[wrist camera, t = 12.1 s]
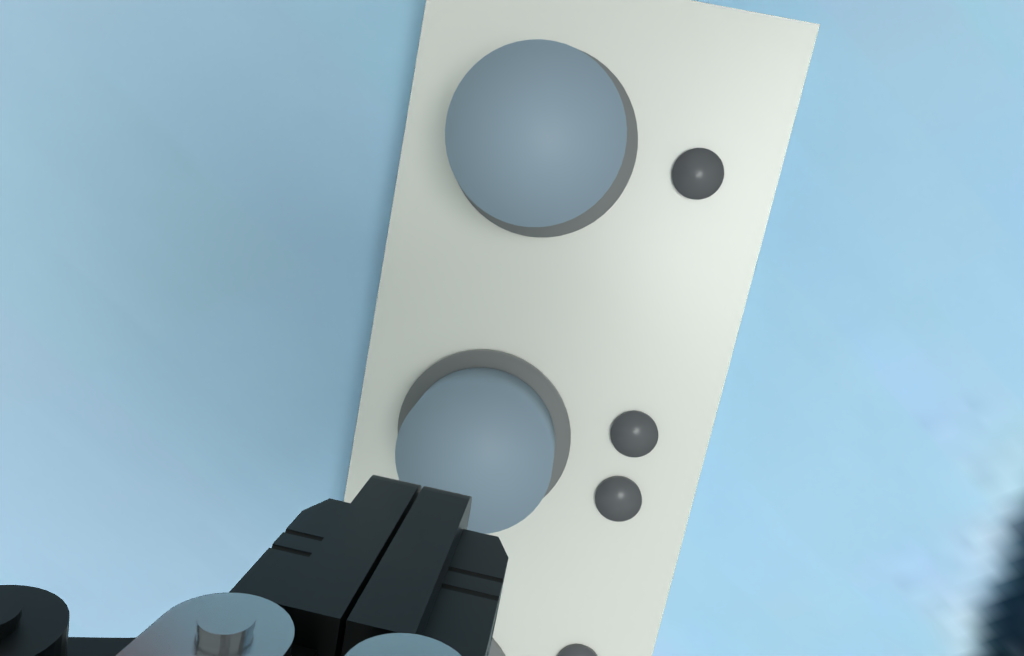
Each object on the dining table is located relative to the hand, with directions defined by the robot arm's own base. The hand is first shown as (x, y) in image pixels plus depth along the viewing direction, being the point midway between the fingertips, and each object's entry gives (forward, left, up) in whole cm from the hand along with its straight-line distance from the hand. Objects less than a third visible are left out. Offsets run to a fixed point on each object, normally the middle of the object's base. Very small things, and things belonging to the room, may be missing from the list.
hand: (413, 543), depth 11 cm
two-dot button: (0, +3, -14) cm, 14 cm away
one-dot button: (0, -7, -13) cm, 15 cm away
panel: (-1, +3, -18) cm, 18 cm away
